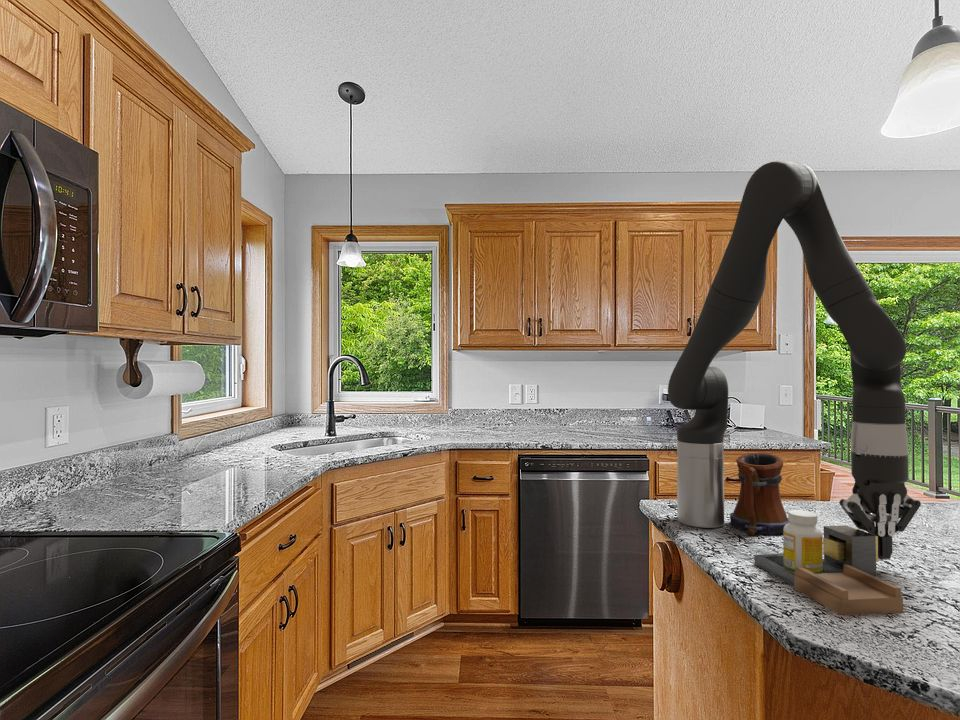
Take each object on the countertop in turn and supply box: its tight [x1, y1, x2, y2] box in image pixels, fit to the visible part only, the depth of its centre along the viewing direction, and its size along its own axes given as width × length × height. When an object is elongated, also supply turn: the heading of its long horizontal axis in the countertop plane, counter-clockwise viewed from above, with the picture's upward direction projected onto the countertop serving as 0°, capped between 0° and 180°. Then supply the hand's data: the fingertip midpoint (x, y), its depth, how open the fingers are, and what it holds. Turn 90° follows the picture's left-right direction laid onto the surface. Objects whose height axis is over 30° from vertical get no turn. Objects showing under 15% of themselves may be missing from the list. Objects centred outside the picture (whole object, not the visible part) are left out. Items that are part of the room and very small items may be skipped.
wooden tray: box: [793, 565, 904, 617], centre depth 77 cm, size 9×9×3 cm
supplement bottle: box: [782, 509, 824, 574], centre depth 87 cm, size 5×5×10 cm
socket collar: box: [753, 553, 843, 587], centre depth 87 cm, size 10×10×2 cm
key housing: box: [823, 524, 877, 577], centre depth 88 cm, size 6×4×6 cm, turn 6°
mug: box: [729, 452, 790, 537], centre depth 111 cm, size 18×12×15 cm, turn 141°
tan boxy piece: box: [822, 526, 879, 563], centre depth 88 cm, size 5×6×4 cm
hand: (880, 557), depth 89 cm, fingers closed
